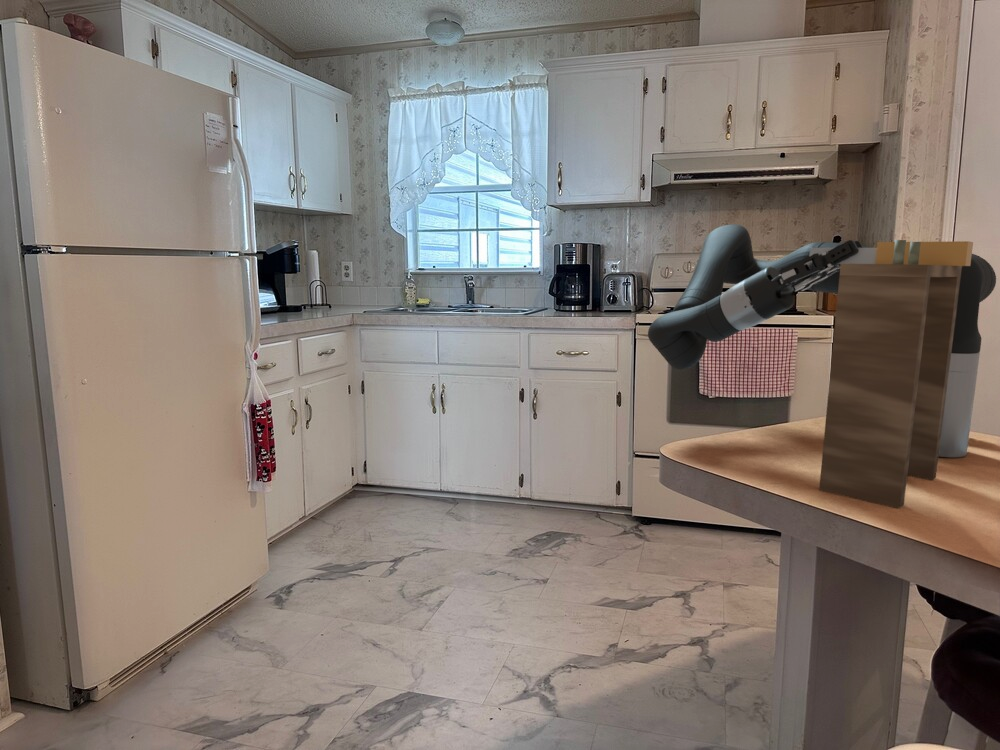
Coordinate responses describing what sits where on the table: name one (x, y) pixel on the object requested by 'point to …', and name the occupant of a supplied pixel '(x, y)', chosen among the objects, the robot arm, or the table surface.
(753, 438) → the table surface
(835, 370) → the shelf
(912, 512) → the table surface
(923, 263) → the two-tone rectangular bar
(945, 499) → the table surface
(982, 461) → the table surface
